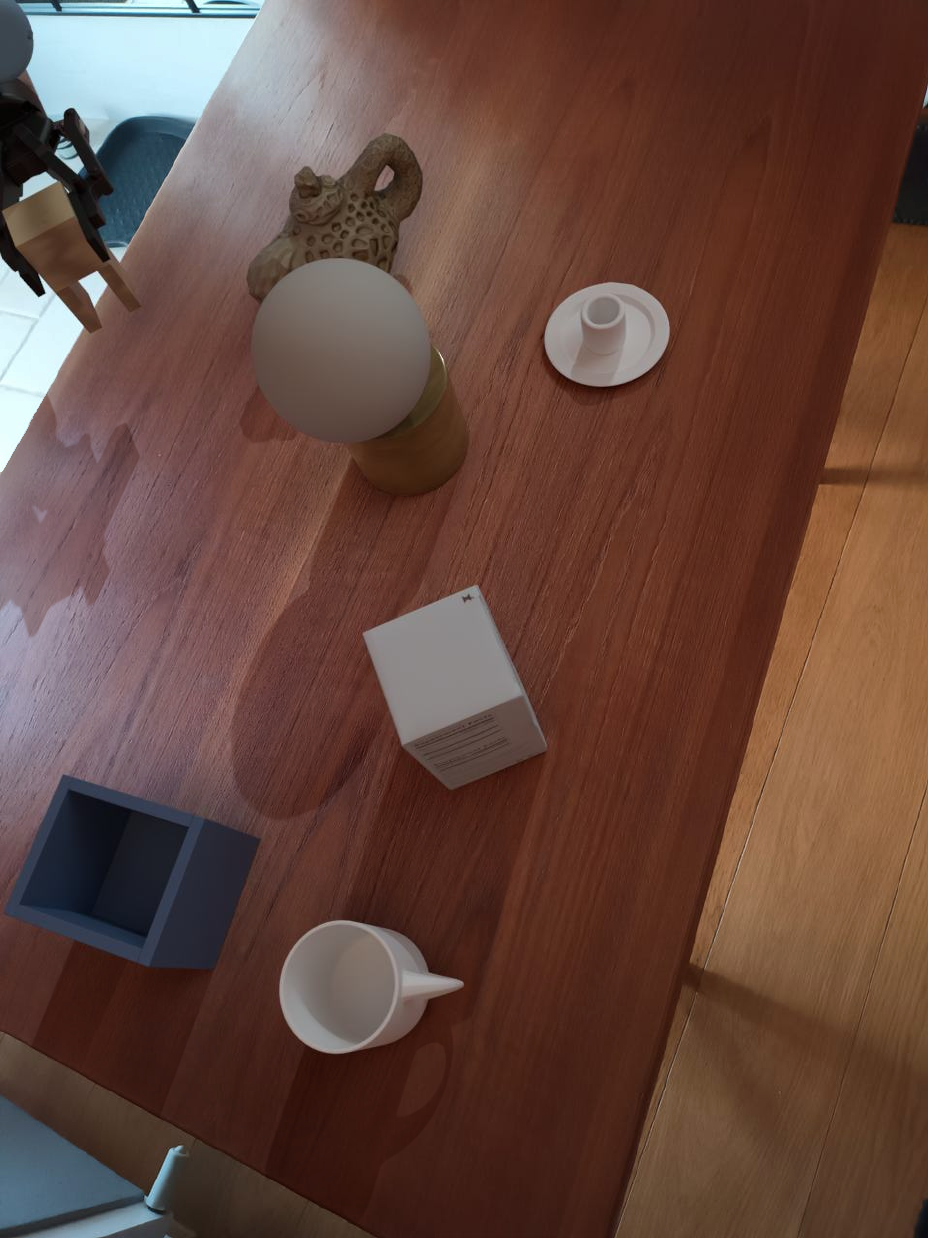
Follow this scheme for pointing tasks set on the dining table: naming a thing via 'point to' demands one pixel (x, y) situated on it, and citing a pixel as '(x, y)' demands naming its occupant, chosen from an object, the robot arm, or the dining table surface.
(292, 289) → the lamp
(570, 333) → the candle holder
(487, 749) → the supplement box
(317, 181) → the teapot
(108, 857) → the blue bin
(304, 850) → the dining table surface
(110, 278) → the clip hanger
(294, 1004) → the mug
